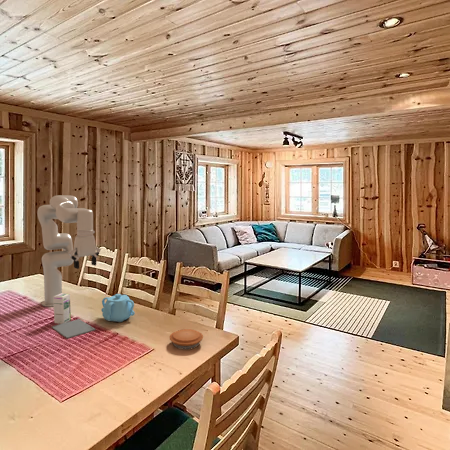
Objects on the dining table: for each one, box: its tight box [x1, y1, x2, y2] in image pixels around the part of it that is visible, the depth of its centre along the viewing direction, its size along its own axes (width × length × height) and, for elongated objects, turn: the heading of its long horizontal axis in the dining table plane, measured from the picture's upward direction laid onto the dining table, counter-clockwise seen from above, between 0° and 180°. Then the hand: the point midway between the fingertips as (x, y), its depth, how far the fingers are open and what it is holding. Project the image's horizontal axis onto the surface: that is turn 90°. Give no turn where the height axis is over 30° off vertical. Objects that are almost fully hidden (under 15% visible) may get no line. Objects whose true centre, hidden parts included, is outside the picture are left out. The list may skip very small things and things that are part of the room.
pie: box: [169, 328, 204, 350], centre depth 155 cm, size 16×16×5 cm
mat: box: [51, 318, 96, 339], centre depth 167 cm, size 18×14×1 cm
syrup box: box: [53, 292, 72, 325], centre depth 175 cm, size 6×6×14 cm
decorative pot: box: [100, 293, 136, 323], centre depth 182 cm, size 16×16×14 cm
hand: (85, 266), depth 171 cm, fingers open, 9 cm apart
